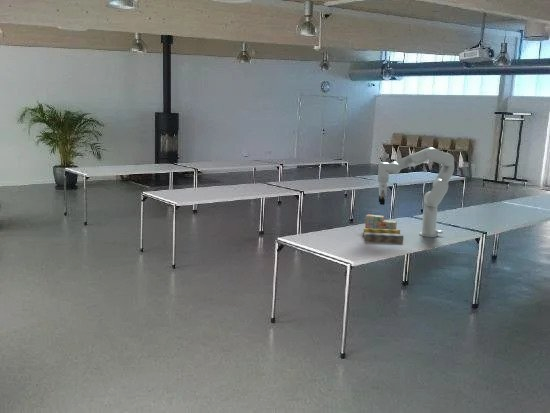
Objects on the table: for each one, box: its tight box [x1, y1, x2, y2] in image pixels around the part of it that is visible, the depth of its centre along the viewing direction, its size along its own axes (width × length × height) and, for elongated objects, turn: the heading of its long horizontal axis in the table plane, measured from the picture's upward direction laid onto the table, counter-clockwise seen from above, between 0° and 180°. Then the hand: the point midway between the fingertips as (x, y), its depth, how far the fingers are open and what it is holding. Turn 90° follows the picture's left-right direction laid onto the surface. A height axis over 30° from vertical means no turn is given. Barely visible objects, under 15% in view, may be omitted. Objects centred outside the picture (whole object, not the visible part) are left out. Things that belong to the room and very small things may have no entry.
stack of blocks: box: [364, 214, 397, 230], centre depth 389 cm, size 21×6×12 cm, turn 63°
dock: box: [363, 227, 404, 244], centre depth 370 cm, size 25×19×5 cm
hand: (381, 203), depth 386 cm, fingers open, 9 cm apart
